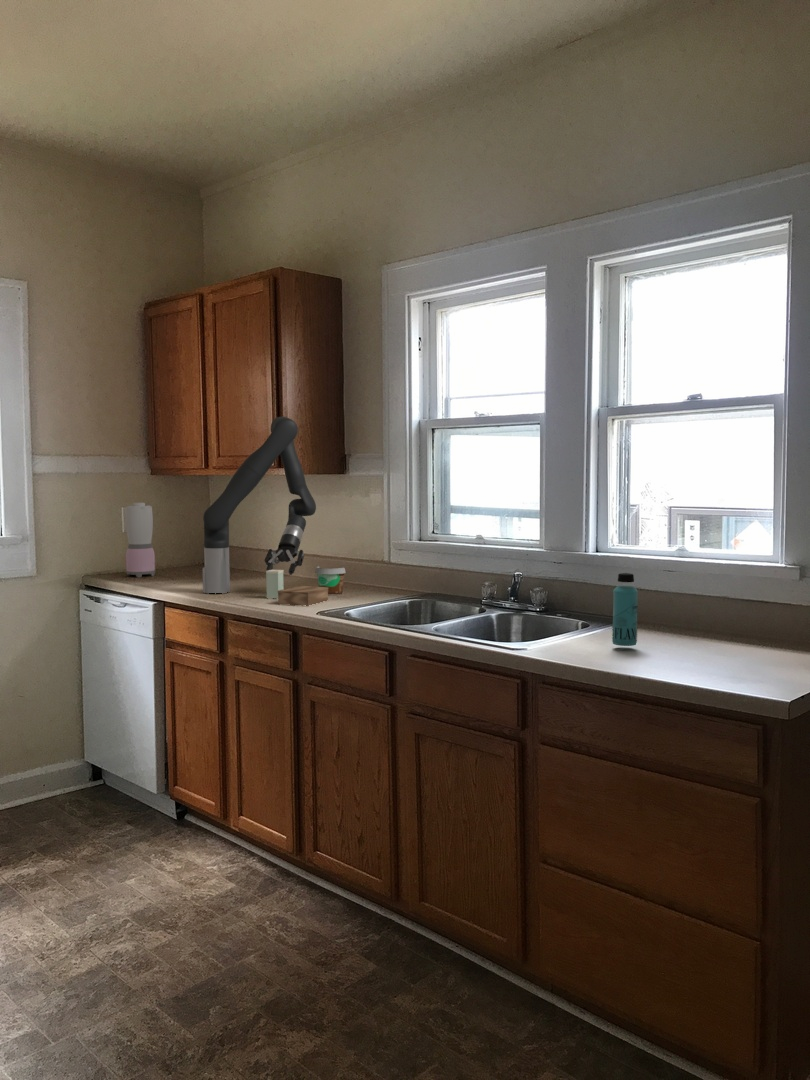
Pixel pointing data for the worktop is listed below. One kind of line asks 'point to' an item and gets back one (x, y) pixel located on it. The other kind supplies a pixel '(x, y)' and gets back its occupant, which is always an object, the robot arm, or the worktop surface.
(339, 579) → the food container
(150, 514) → the blender
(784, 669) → the worktop surface
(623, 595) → the beverage bottle
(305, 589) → the walnut box
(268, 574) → the tea tin
